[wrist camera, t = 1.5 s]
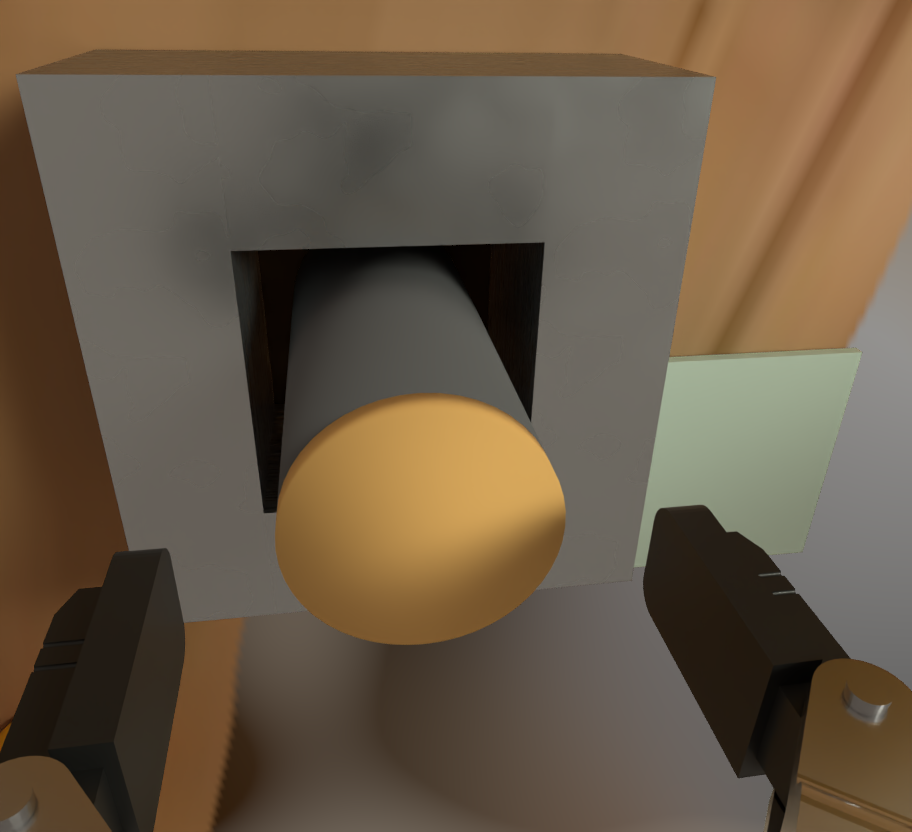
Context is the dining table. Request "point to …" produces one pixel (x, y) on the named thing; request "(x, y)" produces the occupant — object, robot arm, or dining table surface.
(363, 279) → the plug
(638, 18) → the dining table surface
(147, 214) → the housing
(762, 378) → the mat
